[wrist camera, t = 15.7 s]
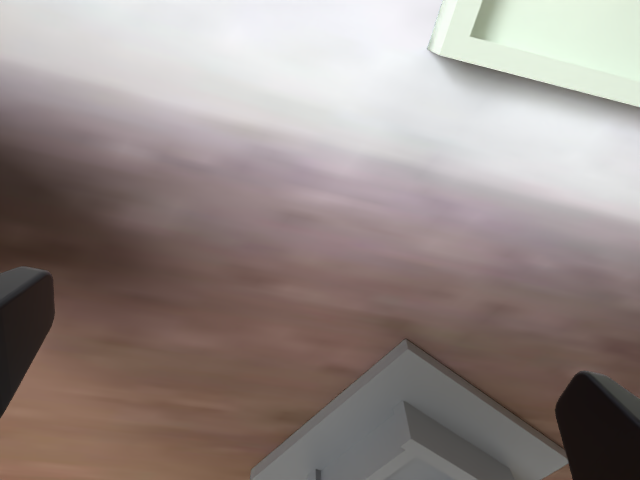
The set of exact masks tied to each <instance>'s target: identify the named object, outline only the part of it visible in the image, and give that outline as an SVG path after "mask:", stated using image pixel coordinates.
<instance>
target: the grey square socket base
mask: <svg viewBox="0 0 640 480" xmlns="http://www.w3.org/2000/svg"><path fill="white" fill-rule="evenodd" d="M566 464H568V459H567V456H566V452H565V450H564V449H562V448H561V447H560V446H558V445H557V444H555V443H554V442H552V441H551V440H550V439H548V438H547V437H545V436H544V435H542V434H541V433H540V432H538V431H537V430H535V429H534V428H532V427H531V426H530V425H528V424H527V423H525V422H524V421H522V420H521V419H520V418H518V417H517V416H515V415H514V414H512V413H511V412H510V411H508V410H507V409H505V408H504V407H502V406H501V405H500V404H498V403H497V402H495V401H494V400H492V399H491V398H490V397H488V396H487V395H485V394H484V393H482V392H481V391H480V390H478V389H477V388H475V387H474V386H472V385H471V384H470V383H468V382H467V381H465V380H464V379H462V378H461V377H460V376H458V375H457V374H455V373H454V372H452V371H451V370H450V369H448V368H447V367H445V366H444V365H442V364H441V363H440V362H438V361H437V360H435V359H434V358H432V357H431V356H430V355H428V354H427V353H425V352H424V351H422V350H421V349H420V348H418V347H417V346H415V345H414V344H412V343H411V342H409V341H408V340H407V339H405V340H403V341H402V342H401V343H400V344H399V345H397V346H396V347H395V348H394V349H393V350H392V351H390V352H389V353H388V354H387V355H386V356H384V357H383V358H382V359H381V360H380V361H379V362H377V363H376V364H375V365H374V366H373V367H372V368H370V369H369V370H368V371H367V372H366V373H364V374H363V375H362V376H361V377H360V378H359V379H357V380H356V381H355V382H354V383H353V384H351V385H350V386H349V387H348V388H347V389H346V390H344V391H343V392H342V393H341V394H340V395H339V396H337V397H336V398H335V399H334V400H333V401H331V402H330V403H329V404H328V405H327V406H326V407H324V408H323V409H322V410H321V411H320V412H318V413H317V414H316V415H315V416H314V417H313V418H311V419H310V420H309V421H308V422H307V423H306V424H304V425H303V426H302V427H301V428H300V429H298V430H297V431H296V432H295V433H294V434H293V435H291V436H290V437H289V438H288V439H287V440H285V441H284V442H283V443H282V444H281V445H280V446H278V447H277V448H276V449H275V450H274V451H273V452H271V453H270V454H269V455H268V456H267V457H265V458H264V459H263V460H262V461H261V462H260V463H258V464H257V465H256V466H255V467H254V468H252V469H251V475H250V480H541V479H543V478H545V477H546V476H548V475H550V474H551V473H553V472H555V471H556V470H558V469H560V468H561V467H563V466H565V465H566Z"/></svg>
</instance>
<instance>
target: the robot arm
mask: <svg viewBox="0 0 640 480" xmlns="http://www.w3.org/2000/svg"><path fill="white" fill-rule="evenodd" d="M54 314H55V309H54V288H53V277H52V275H51V273H50V272H48V271H47V270H42V269H37V268H31V267H25V266H22V267H17V268H14V269H12V270H9V271H6V272H3V273H0V418H1V416H2V415H3V413H4V412H5V410H6V408H7V407H8V405H9V403H10V401H11V400H12V398H13V396H14V394H15V392H16V391H17V389H18V387H19V385H20V383H21V381H22V380H23V378H24V376H25V374H26V372H27V370H28V369H29V367H30V365H31V363H32V361H33V359H34V358H35V356H36V354H37V352H38V350H39V348H40V347H41V345H42V343H43V341H44V339H45V337H46V336H47V334H48V332H49V330H50V328H51V326H52V323H53V320H54ZM555 414H556V419H557V422H558V426H559V430H560V434H561V437H562V441H563V445H564V448H565V452H566V456H567V459H568V463H569V467H570V470H571V474H572V478H573V480H640V399H639V398H637V397H636V396H635V395H633V394H632V393H630V392H629V391H627V390H626V389H625V388H623V387H622V386H620V385H619V384H618V383H616V382H615V381H613V380H612V379H611V378H609V377H608V376H606V375H603V374H600V373H594V372H589V371H580V372H578V373H577V374H576V375H575V376H574V377H573V379H572V380H571V382H570V383H569V385H568V386H567V387H566V389H565V390H564V392H563V393H562V395H561V396H560V398H559V399H558V401H557V404H556V409H555Z"/></svg>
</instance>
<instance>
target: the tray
mask: <svg viewBox="0 0 640 480" xmlns="http://www.w3.org/2000/svg"><path fill="white" fill-rule="evenodd" d="M427 49H428V50H430V51H432V52H434V53H436V54H438V55H440V56H444V57H448V58H452V59H455V60H459V61H463V62H467V63H471V64H475V65H479V66H483V67H486V68H490V69H494V70H498V71H502V72H506V73H510V74H513V75H517V76H521V77H525V78H529V79H533V80H537V81H540V82H544V83H548V84H552V85H556V86H560V87H564V88H568V89H571V90H575V91H579V92H583V93H587V94H591V95H595V96H598V97H602V98H606V99H610V100H614V101H618V102H622V103H625V104H629V105H633V106H637V107H640V0H443V1H442V4H441V8H440V11H439V14H438V17H437V20H436V23H435V26H434V29H433V33H432V36H431V39H430V42H429V45H428V48H427Z"/></svg>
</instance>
